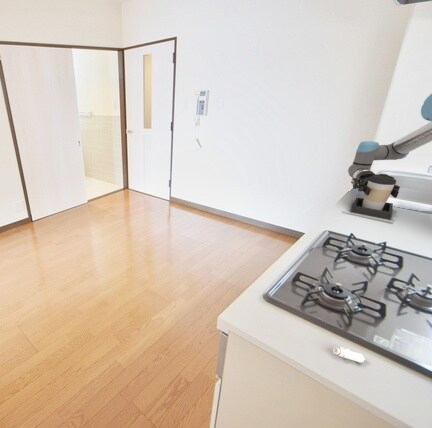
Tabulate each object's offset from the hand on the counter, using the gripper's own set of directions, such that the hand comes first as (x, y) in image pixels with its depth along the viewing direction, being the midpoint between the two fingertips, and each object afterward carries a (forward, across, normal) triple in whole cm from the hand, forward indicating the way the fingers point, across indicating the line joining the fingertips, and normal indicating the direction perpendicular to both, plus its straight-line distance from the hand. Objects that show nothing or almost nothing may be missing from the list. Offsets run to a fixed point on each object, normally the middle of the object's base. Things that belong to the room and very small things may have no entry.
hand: (382, 193), depth 119 cm
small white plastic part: (+90, +29, -10) cm, 95 cm away
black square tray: (-5, 0, -10) cm, 11 cm away
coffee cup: (-5, 0, -9) cm, 10 cm away
